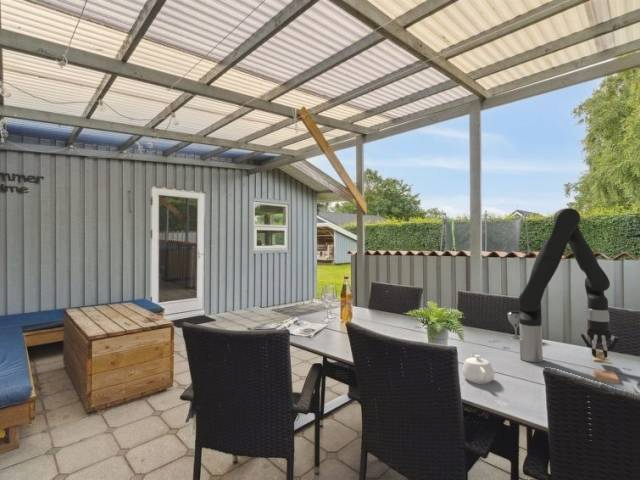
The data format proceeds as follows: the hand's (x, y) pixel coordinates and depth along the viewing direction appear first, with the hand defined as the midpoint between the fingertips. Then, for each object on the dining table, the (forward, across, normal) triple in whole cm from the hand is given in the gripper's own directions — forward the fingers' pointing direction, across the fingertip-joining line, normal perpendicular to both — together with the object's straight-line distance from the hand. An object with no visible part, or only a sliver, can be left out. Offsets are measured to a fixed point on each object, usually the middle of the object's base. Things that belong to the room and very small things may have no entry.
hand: (599, 357), depth 150 cm
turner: (+1, 0, -2) cm, 3 cm away
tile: (+4, 0, -14) cm, 14 cm away
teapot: (+5, -44, -40) cm, 60 cm away
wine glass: (+5, -35, +35) cm, 50 cm away
